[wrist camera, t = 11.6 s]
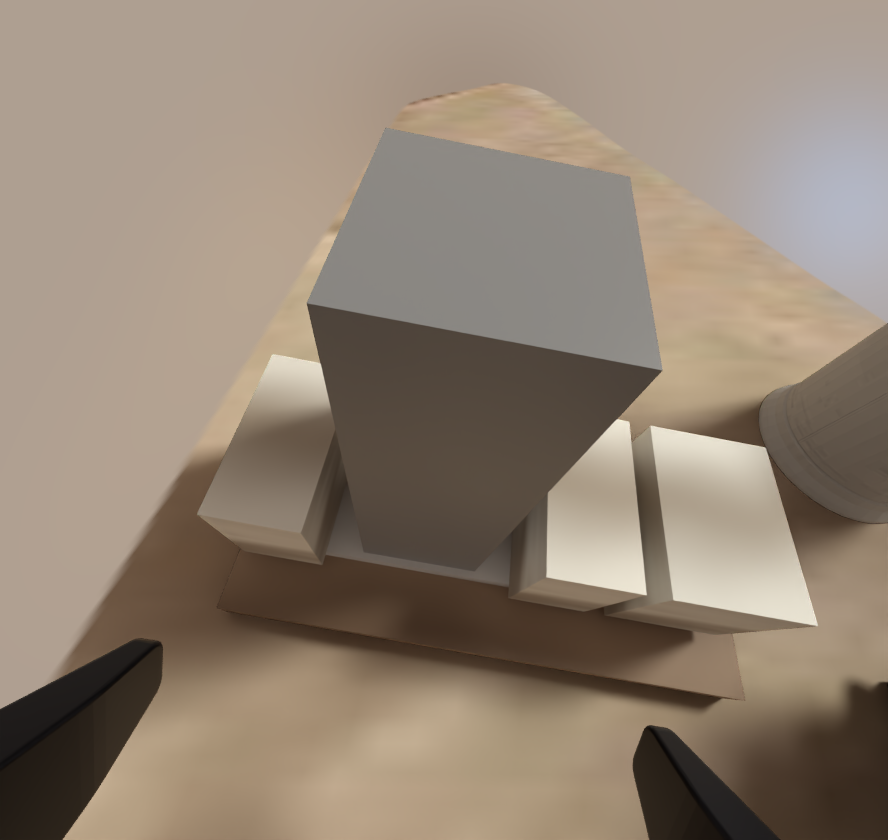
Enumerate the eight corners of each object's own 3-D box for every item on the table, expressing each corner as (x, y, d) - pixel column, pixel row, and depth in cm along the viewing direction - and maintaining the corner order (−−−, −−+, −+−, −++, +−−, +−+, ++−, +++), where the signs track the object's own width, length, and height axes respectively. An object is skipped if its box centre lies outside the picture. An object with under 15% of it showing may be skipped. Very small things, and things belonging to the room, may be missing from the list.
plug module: (474, 571, 16) (661, 371, 5) (363, 552, 16) (306, 302, 5) (484, 466, 19) (628, 172, 7) (388, 449, 18) (387, 123, 7)
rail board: (723, 698, 17) (884, 715, 11) (227, 611, 16) (146, 585, 11) (684, 471, 22) (782, 408, 16) (308, 401, 21) (281, 312, 16)
